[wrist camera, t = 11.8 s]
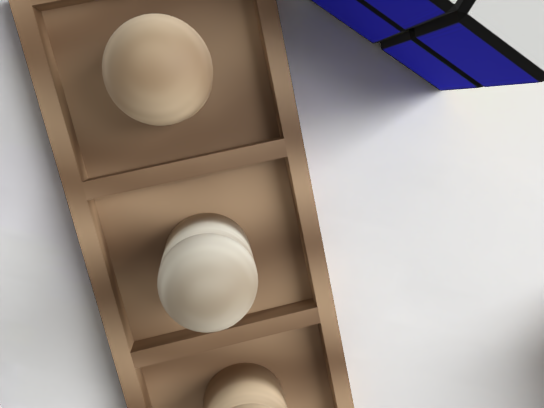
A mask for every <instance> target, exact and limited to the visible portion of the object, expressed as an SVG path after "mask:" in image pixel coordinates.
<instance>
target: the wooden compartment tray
mask: <svg viewBox="0 0 544 408" xmlns="http://www.w3.org/2000/svg"><path fill="white" fill-rule="evenodd" d="M9 4H10V7H11V11H12V14H13V18H14V21H15V24H16V28H17V31H18V35H19V38H20V42H21V45H22V48H23V52H24V55H25V59H26V62H27V65H28V69H29V72H30V76H31V79H32V83H33V86H34V89H35V93H36V96H37V100H38V103H39V107H40V110H41V113H42V117H43V120H44V124H45V127H46V131H47V134H48V137H49V141H50V144H51V148H52V151H53V155H54V158H55V161H56V165H57V168H58V172H59V175H60V179H61V182H62V185H63V189H64V192H65V196H66V199H67V203H68V206H69V209H70V213H71V216H72V220H73V223H74V227H75V230H76V233H77V237H78V240H79V244H80V247H81V250H82V254H83V257H84V261H85V264H86V268H87V271H88V274H89V278H90V281H91V285H92V288H93V292H94V295H95V298H96V302H97V305H98V309H99V312H100V316H101V319H102V322H103V326H104V329H105V333H106V336H107V340H108V343H109V346H110V350H111V353H112V357H113V360H114V364H115V367H116V370H117V374H118V377H119V381H120V384H121V388H122V391H123V394H124V398H125V401H126V405H127V408H203V400H204V394H205V390H206V388H207V385H208V384H209V382H210V381H211V379H212V378H213V377H214V376H215V375H216V374H217V373H218V372H219V371H221V370H222V369H224V368H226V367H228V366H230V365H233V364H238V363H254V364H258V365H261V366H263V367H265V368H267V369H269V370H270V371H271V372H272V373H274V375H275V376H276V377H277V378H278V380H279V382H280V384H281V386H282V389H283V393H284V397H285V401H286V405H287V408H354V404H353V399H352V394H351V389H350V383H349V378H348V373H347V368H346V363H345V357H344V352H343V347H342V342H341V336H340V331H339V326H338V321H337V316H336V310H335V305H334V300H333V295H332V289H331V284H330V279H329V274H328V269H327V263H326V258H325V253H324V248H323V242H322V237H321V232H320V227H319V222H318V216H317V211H316V206H315V201H314V195H313V190H312V185H311V180H310V175H309V169H308V164H307V159H306V154H305V148H304V143H303V138H302V133H301V128H300V122H299V117H298V112H297V107H296V101H295V96H294V91H293V86H292V81H291V75H290V70H289V65H288V60H287V54H286V49H285V44H284V39H283V34H282V28H281V23H280V18H279V13H278V7H277V2H276V0H9ZM144 14H165V15H169V16H173V17H175V18H178V19H180V20H182V21H184V22H185V23H187V24H188V25H189V26H191V27H192V28H193V29H194V30H195V31H196V32H197V33H198V34H199V35H200V37H201V38H202V39H203V41H204V42H205V44H206V46H207V48H208V50H209V52H210V55H211V59H212V64H213V82H212V88H211V92H210V95H209V97H208V99H207V101H206V103H205V104H204V106H203V107H202V108H201V109H200V110H199V111H198V112H197V113H196V114H195V115H194V116H192V117H190V118H188V119H186V120H184V121H182V122H179V123H176V124H173V125H166V126H155V125H149V124H145V123H142V122H139V121H137V120H135V119H133V118H131V117H129V116H128V115H127V114H125V113H124V112H123V111H122V110H121V109H120V108H118V106H117V105H116V104H115V103H114V102H113V100H112V99H111V97H110V95H109V93H108V91H107V89H106V87H105V84H104V80H103V75H102V59H103V54H104V50H105V47H106V45H107V43H108V41H109V39H110V37H111V36H112V34H113V33H114V32H115V31H116V30H117V29H118V28H119V27H120V26H121V25H122V24H123V23H125V22H127V21H128V20H130V19H132V18H134V17H137V16H140V15H144ZM200 213H216V214H220V215H224V216H226V217H228V218H230V219H232V220H233V221H235V222H236V223H237V224H238V225H239V226H240V227H241V228H242V230H243V231H244V232H245V234H246V236H247V238H248V241H249V244H250V248H251V251H252V254H253V258H254V261H255V265H256V268H257V273H258V289H257V294H256V297H255V300H254V302H253V304H252V306H251V308H250V309H249V311H248V312H247V313H246V315H245V316H244V317H243V318H242V319H241V320H240V321H238V322H237V323H236V324H234V325H233V326H231V327H229V328H227V329H224V330H221V331H217V332H210V333H205V332H196V331H192V330H189V329H187V328H185V327H183V326H181V325H179V324H178V323H177V322H175V321H174V320H173V319H172V318H171V317H170V316H169V315H168V313H167V312H166V311H165V309H164V307H163V306H162V303H161V301H160V298H159V294H158V288H157V278H158V271H159V267H160V264H161V260H162V256H163V253H164V249H165V245H166V242H167V239H168V237H169V235H170V233H171V232H172V230H173V229H174V228H175V227H176V226H177V225H178V224H179V223H180V222H181V221H183V220H184V219H186V218H188V217H190V216H193V215H195V214H200Z"/></svg>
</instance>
